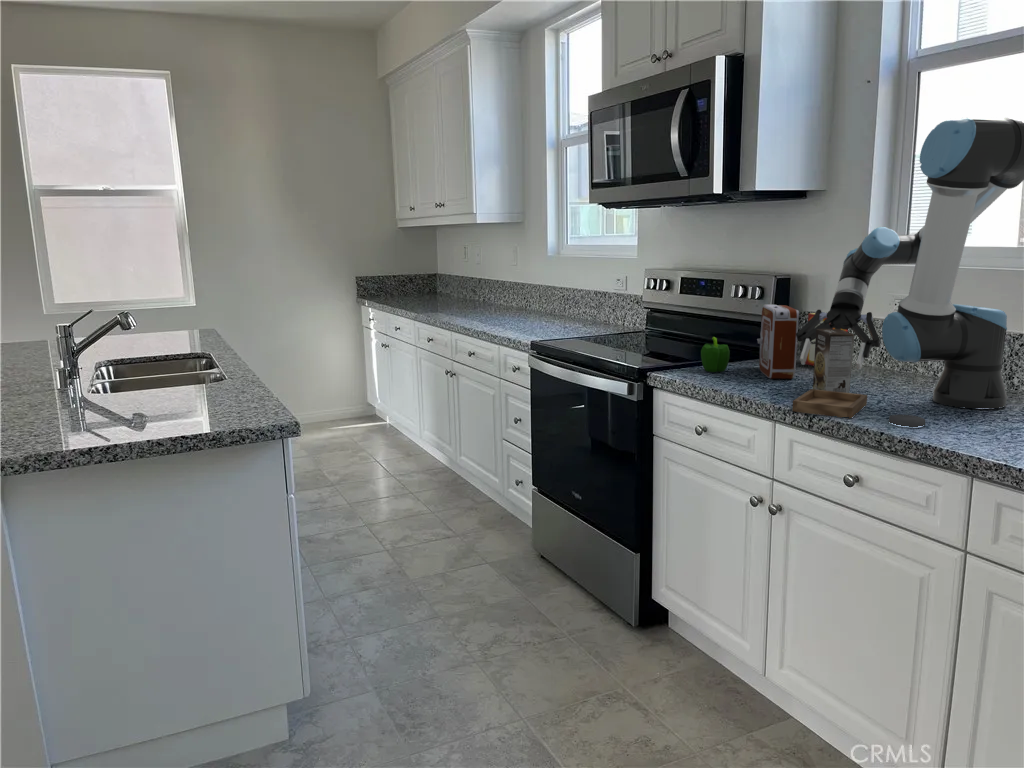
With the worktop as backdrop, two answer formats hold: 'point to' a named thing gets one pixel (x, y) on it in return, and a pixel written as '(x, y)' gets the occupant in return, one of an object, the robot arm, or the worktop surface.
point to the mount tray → (829, 403)
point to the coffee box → (833, 360)
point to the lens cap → (907, 420)
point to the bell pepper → (715, 356)
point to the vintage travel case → (778, 341)
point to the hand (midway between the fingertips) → (829, 364)
